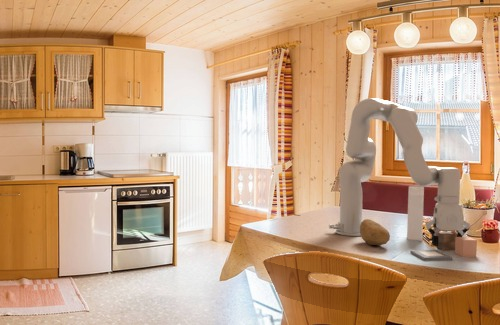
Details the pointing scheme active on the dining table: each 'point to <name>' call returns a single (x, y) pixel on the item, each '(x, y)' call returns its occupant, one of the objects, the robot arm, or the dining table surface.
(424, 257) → the slate board
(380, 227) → the potato
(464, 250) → the terracotta block
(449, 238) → the walnut block
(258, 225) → the dining table surface
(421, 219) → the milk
